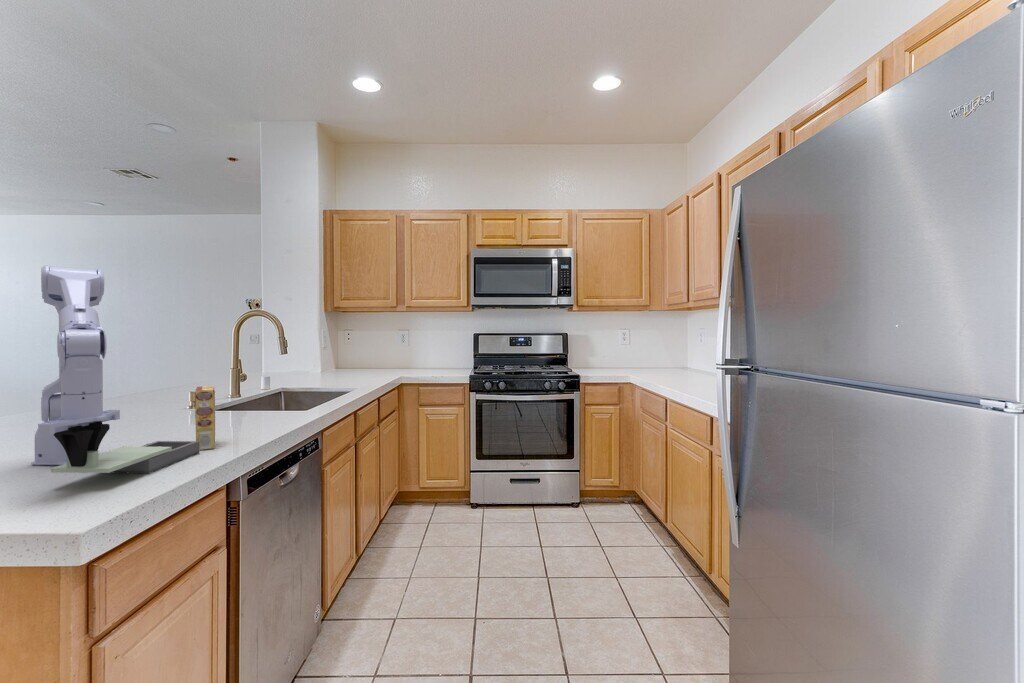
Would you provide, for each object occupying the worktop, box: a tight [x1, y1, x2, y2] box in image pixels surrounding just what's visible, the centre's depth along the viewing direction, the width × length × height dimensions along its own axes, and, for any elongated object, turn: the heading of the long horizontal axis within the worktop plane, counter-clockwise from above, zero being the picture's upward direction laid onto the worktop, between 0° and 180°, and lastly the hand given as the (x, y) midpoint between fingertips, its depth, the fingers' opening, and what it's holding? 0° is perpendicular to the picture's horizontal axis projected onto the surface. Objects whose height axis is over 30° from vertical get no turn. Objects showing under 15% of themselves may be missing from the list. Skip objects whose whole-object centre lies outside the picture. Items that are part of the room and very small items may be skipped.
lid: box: [50, 445, 172, 474], centre depth 93 cm, size 11×16×4 cm, turn 2°
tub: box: [109, 440, 200, 475], centre depth 103 cm, size 10×16×3 cm, turn 1°
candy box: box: [194, 385, 216, 451], centre depth 118 cm, size 9×4×15 cm, turn 33°
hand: (82, 464), depth 86 cm, fingers closed on lid
